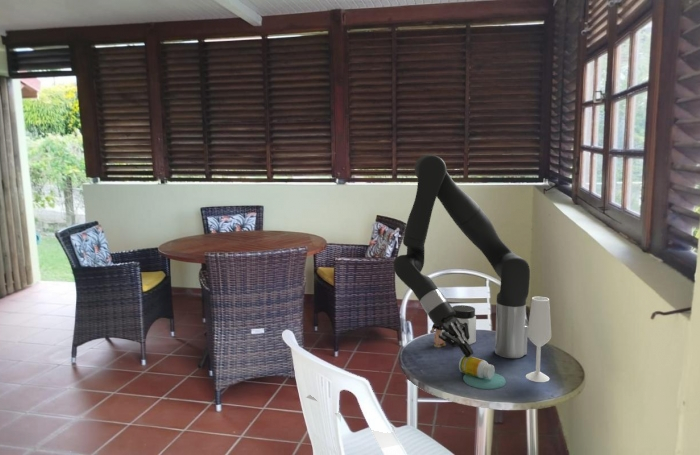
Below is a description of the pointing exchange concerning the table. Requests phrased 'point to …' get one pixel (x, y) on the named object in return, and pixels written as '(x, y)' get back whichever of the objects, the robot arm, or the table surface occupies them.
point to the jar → (467, 320)
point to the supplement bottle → (476, 367)
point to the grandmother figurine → (437, 337)
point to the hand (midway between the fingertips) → (470, 355)
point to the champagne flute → (539, 332)
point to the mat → (485, 381)
